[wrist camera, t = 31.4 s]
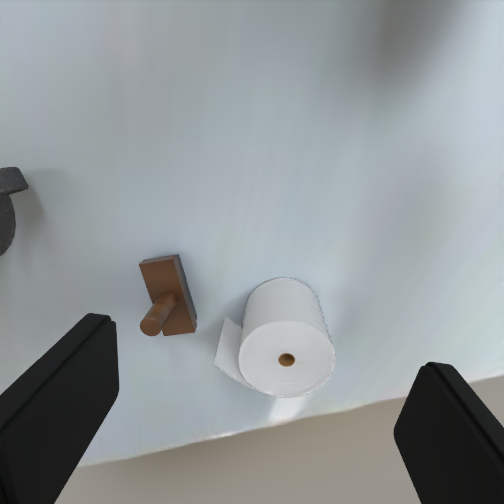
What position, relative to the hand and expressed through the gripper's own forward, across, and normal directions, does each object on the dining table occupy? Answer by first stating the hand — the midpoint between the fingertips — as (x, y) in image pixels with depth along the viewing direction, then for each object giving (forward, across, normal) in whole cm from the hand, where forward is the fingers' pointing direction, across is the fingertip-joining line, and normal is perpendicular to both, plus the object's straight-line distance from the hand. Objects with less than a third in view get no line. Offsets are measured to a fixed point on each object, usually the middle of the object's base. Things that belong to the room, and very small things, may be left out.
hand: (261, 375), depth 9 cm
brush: (+28, +11, +14) cm, 33 cm away
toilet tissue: (+28, -4, +16) cm, 33 cm away
